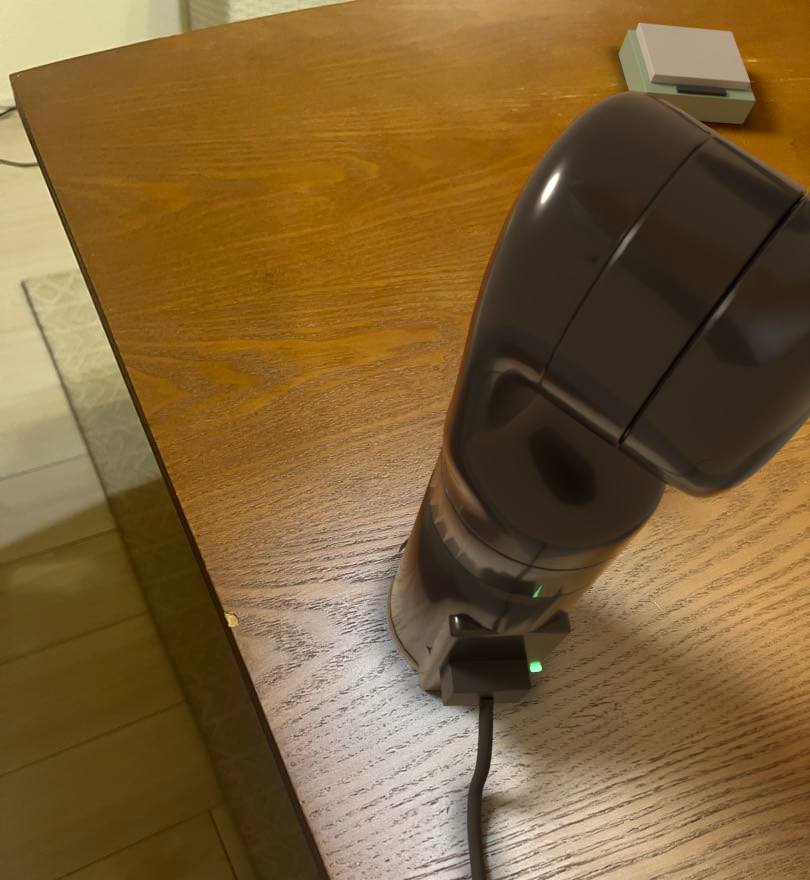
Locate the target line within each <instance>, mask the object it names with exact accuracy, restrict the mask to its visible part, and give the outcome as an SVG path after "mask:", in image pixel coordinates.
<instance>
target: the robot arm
mask: <svg viewBox="0 0 810 880" xmlns="http://www.w3.org/2000/svg"><path fill="white" fill-rule="evenodd" d="M807 190H808V188H807V187H806V186H804V185H802V184H801V183H799V181H796V180H794V179H793V178H791V177H790V176H788V175H787V174H785V173H783V172H781V171H780V170H778V169H777V168H775V167H774V166H772V165H771V164H769V163H767V162H766V161H764V160H763V159H761V158H759V157H757V156H756V155H754V154H753V153H751V152H749V151H748V150H746V149H744V148H743V147H742V146H740V145H739V144H738V143H735V142H733V140H730V139H729V138H727V137H725V136H724V135H722V134H720V133H718V131H716V130H714V129H713V128H711V127H709V126H708V125H706V124H704V123H703V121H698V120H697V119H695V118H694V117H692V116H690V115H689V114H687V113H686V112H684V111H683V110H681V109H679V108H677V107H676V106H674V105H672V104H670V103H669V102H667V101H665V100H663V99H661V98H659V97H656V96H654V95H651V94H649V93H646V92H639V91H629V90H627V91H622V92H617V93H613V94H610V95H608V96H606V97H604V98H602V99H601V100H599V101H597V102H595V103H593V104H592V105H590V106H589V107H587V108H586V109H585V110H583V111H582V112H581V113H580V114H578V115H577V116H576V117H575V118H573V120H572V121H571V122H570V123H569V124H568V125H567V126H566V127H565V128H564V129H563V130H562V131H561V132H560V133H559V134H558V135H557V136H556V137H555V138H554V140H552V142H551V143H550V145H549V146H548V147H547V148H546V149H545V151H544V152H543V154H542V155H541V157H540V158H539V160H538V161H537V162H536V164H535V165H534V167H533V168H532V170H531V171H530V173H529V175H528V176H527V178H526V179H525V181H524V184H523V185H522V186H521V188H520V190H519V192H518V193H517V196H516V197H515V199H514V201H513V202H512V205H511V207H510V209H509V211H508V213H507V215H506V217H505V219H504V222H503V224H502V227H501V229H500V232H499V234H498V237H497V239H496V241H495V244H494V246H493V250H492V252H491V253H490V257H489V259H488V261H487V264H486V267H485V269H484V272H483V276H482V279H481V282H480V287H479V290H478V293H477V297H476V301H475V304H474V307H473V309H472V314H471V317H470V322H469V326H468V331H467V335H466V339H465V344H464V348H463V352H462V356H461V361H460V364H459V369H458V373H457V376H456V381H455V384H454V387H453V388H454V389H453V392H452V395H451V398H450V402H449V404H448V407H447V411H446V414H445V419H444V423H443V428H442V445H441V448H440V451H439V454H438V457H437V459H436V462H435V465H434V468H433V469H432V473H431V475H430V477H429V481H428V483H427V486H426V489H425V492H424V495H423V498H422V500H421V503H420V506H419V509H418V511H417V514H416V516H415V520H414V523H413V525H412V529H411V531H410V534H409V537H407V539H405V540H404V542H402V543H401V544H400V546H399V549H398V553H397V555H400V553H401V552H402V551H403V550H404V551H403V554H402V556H401V559H400V562H399V565H398V569H397V570H396V572H395V574H394V576H393V578H392V580H391V582H390V586H389V590H388V592H387V597H386V603H385V617H386V624H387V628H388V632H389V635H390V638H391V639H392V642H393V644H394V646H395V648H396V650H397V651H398V653H399V654H400V655H401V657H402V658H403V659H404V660H405V661H406V662H407V664H408V665H409V666H410V667H411V668H412V669H414V671H416V674H417V677H418V686H419V688H420V689H421V690H422V691H441V700H442V706H443V707H457V706H477V705H478V731H477V749H476V751H477V752H476V759H475V760H476V761H475V767H474V771H473V773H472V777H471V781H470V782H469V786H468V793H467V803H466V804H467V805H466V835H467V843H468V844H467V845H468V854H469V864H470V873H471V874H470V875H471V880H488V878H487V872H486V865H485V864H486V863H485V854H484V844H483V832H482V831H483V830H482V808H483V807H482V805H483V793H484V788H485V785H486V782H487V780H488V777H489V773H490V770H491V763H492V758H493V757H492V755H493V742H494V741H493V740H494V710H495V709H494V707H495V705H498V704H517V703H520V702H521V701H522V699H524V697H526V695H528V694H529V693H530V692H531V690H532V683H531V682H532V681H531V676H532V675H533V674H534V673H535V672H541V671H542V664H543V663H544V662H545V661H546V660H547V659H548V658H549V657H550V656H551V655H552V654H553V653H554V652H555V651H556V650H557V648H558V647H560V646H561V644H562V643H563V642H564V641H565V640H566V639H567V638H568V637H569V636H570V635H571V633H572V631H573V627H572V626H573V625H572V621H571V614H570V611H571V610H572V609H573V608H574V607H575V605H576V604H577V603H578V602H579V601H580V600H581V599H582V597H584V596H585V594H586V593H587V592H588V591H589V590H590V589H591V587H592V586H593V585H594V584H595V583H596V581H597V580H599V578H600V577H601V576H602V575H603V574H604V572H606V571H607V570H608V568H609V567H610V566H611V565H612V564H613V563H614V562H615V561H616V560H617V558H618V557H619V556H620V555H621V554H622V553H623V551H625V549H626V548H627V547H628V546H629V545H630V544H631V542H633V540H634V539H635V538H637V536H638V535H640V532H641V531H642V530H643V529H644V528H645V527H646V526H647V524H649V522H650V520H651V519H652V518H653V516H654V514H655V513H656V511H657V510H658V508H659V507H660V505H661V502H662V501H663V497H664V494H665V491H666V488H667V486H669V487H670V488H672V489H673V490H676V491H677V492H679V493H681V494H683V495H685V496H687V497H690V498H693V499H697V500H698V499H699V500H707V499H712V498H716V497H719V496H723V495H724V494H727V493H728V492H731V491H732V490H735V489H736V488H737V487H740V486H741V485H742V484H744V483H745V482H747V481H748V480H749V479H750V478H752V477H753V476H754V475H756V474H757V473H758V472H760V470H761V469H763V468H764V467H765V466H766V465H767V464H768V463H769V462H770V461H772V459H774V457H775V456H776V455H778V453H779V452H781V450H782V449H783V448H784V447H785V446H786V445H787V444H788V443H789V442H790V441H791V440H792V438H793V437H795V435H796V434H797V433H798V432H799V431H800V430H801V428H802V427H803V426H804V425H805V423H806V422H807V421H808V420H809V419H810V192H808V191H807Z"/></svg>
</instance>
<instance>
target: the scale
mask: <svg viewBox="0 0 810 880" xmlns="http://www.w3.org/2000/svg"><path fill="white" fill-rule="evenodd" d="M618 57H619V58H618V59H619V61H620V64H621V65H620V66H621V68H622V72H623V75H624V79H625V83H626V86H627V91H639V92H646V93H649V94H651V95H654V96H656V97H659V98H661V99H663V100H665V101H667V102H669V103H670V104H672V105H674V106H676V107H677V108H679V109H681V110H683V111H684V112H686V113H687V114H689V115H690V116H692V117H694V118H695V119H697V120H698V121H700V122H708V123H710V122H711V123H721V124H736V125H743V124H744V122H745V120H746V119H747V117H748V115H749V114H750V112H751V110H752V108H753V106H754V105H755V104H756V97H755V94H754V92H753V89H752V86H751V79H750V77H749V75H748V72H747V69H746V67H745V64H744V60H743V58H742V56H741V53H740V49H739V47H738V44H737V42H736V39H735V36H734V33H733V31H729V30H720V29H719V30H718V29H708V28H699V27H698V28H697V27H687V26H676V25H665V24H656V23H655V24H654V23H644V22H638V24H637V26H636V29H627V31H626V35H625V36H624V39H623V42H622V44H621V47H620V49H619V52H618Z"/></svg>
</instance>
